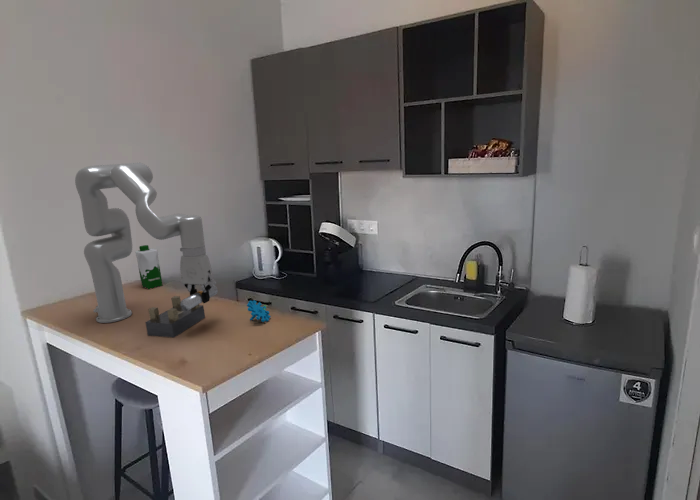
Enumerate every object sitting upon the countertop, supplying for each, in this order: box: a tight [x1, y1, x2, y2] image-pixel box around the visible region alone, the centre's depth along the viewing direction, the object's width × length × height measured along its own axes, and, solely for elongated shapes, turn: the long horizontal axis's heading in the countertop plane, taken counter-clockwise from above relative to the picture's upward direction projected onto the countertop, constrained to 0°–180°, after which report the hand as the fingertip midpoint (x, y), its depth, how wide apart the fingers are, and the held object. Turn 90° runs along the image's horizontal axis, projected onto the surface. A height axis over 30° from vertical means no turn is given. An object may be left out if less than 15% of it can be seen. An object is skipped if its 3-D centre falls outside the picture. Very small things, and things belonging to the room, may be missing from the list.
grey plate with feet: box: [145, 295, 206, 338], centre depth 159 cm, size 11×18×9 cm, turn 163°
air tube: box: [180, 284, 219, 311], centre depth 154 cm, size 16×4×4 cm, turn 163°
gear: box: [246, 299, 272, 323], centre depth 161 cm, size 11×6×10 cm
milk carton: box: [134, 244, 164, 290], centre depth 211 cm, size 9×9×20 cm
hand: (200, 301), depth 155 cm, fingers closed on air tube, 4 cm apart
